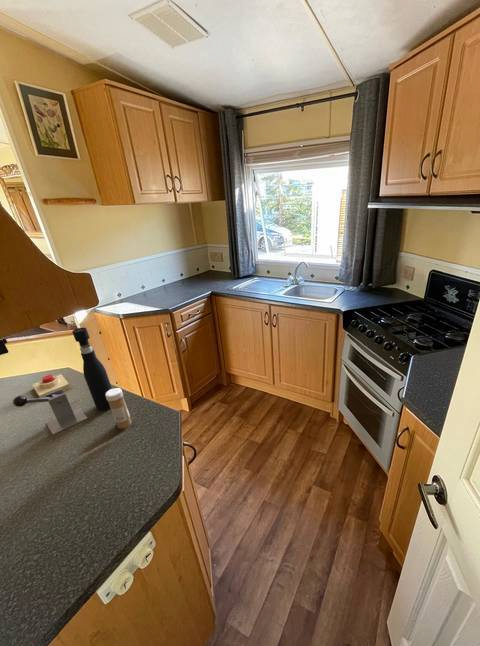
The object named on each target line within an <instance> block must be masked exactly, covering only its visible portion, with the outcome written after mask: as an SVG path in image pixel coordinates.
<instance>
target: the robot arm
mask: <svg viewBox="0 0 480 646" xmlns="http://www.w3.org/2000/svg"><path fill="white" fill-rule="evenodd" d="M6 344H8V340H7V338H6V339H3V340H0V356H2V355H5V354H9V349H8V347H7V346H6Z"/></svg>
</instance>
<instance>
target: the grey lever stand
mask: <svg viewBox="0 0 480 646" xmlns="http://www.w3.org/2000/svg"><path fill="white" fill-rule="evenodd" d="M52 394H60V395H57V396H55V397H53V398H50V399H48V400H49V401H48V404H49V406H50V408H51V411H52V412H53V415H54V417H55V419H53V420H50V421H48V422H46V423H45V424H46V425H47V427H48V429H49V431H50V433H51V434H52V436H54V435H56V434H59V433H61V432H62V431H66V430H67V429H69V428H71V427H73V426H75V425H78V424H79V423H82V422H84V421H86V420H88V416H87V415H86V414H85V413H84V412H83V410H82V409H81V408H77V409H75V410H73V408H72V406H71V404H70V402H69V399H68V397H67V394H66V393H65V392H64V391H62V389H61V388H60V389H58V390H55V391H52V392H50V393H47V394H45V396H46V397H51V395H52Z"/></svg>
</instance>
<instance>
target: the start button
mask: <svg viewBox="0 0 480 646" xmlns="http://www.w3.org/2000/svg"><path fill="white" fill-rule="evenodd" d="M53 376H54V375H53V374H47V375H45V376H42V378H41V380H43V383H49V382H52V381H53V380H54V377H53Z"/></svg>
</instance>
